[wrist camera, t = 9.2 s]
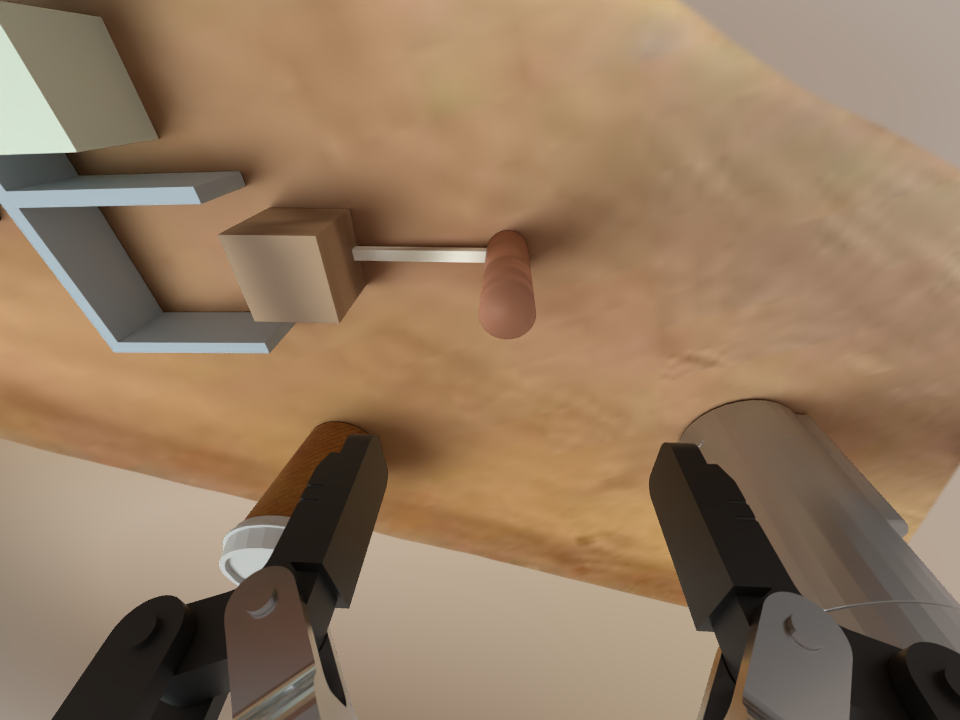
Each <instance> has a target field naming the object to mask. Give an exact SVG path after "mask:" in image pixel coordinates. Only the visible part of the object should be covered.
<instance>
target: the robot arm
mask: <svg viewBox="0 0 960 720" xmlns="http://www.w3.org/2000/svg"><path fill="white" fill-rule="evenodd" d="M387 479H388V469H387V465H386V461H385V458H384V454H383V451H382V447H381V444H380V440H379V437H378V436H377V435H371V434H350V435H349V436H348V437H347V439H346V441H345V443H344V445H343V447H342V449H341V452H340V453H338V452H330V453H329V454H328V455H327V456H326V457H325V458H324V459H323V460H322V461H321V462H320V463H319V464H318V465H317V466H316V468H315V470H314V472H313V474H312V476H311V478H310V480H309V482H308V484H307V488H305V490H304V491H303V493H302V495H301V497H300V502H298V503H297V505H296V507H295V509H294V511H293V513H292V515H291V517H290V519H289V521H288V523H287V525H286V527H285V529H284V531H283V533H282V535H281V537H280V539H279V541H278V543H277V545H276V546H275V548H274V550H273V552H272V554H271V556H270V558H269V560H268V561H267V563H266V564H265V565H264V567H263V568H262V569H260V570H258V571H256V572H255V573H253V574H251V575H250V576H249V577H247V578H246V579H245V580H244V581H243V582H242V583H241V584H240V585H239V586H238V587H237V588H236V589H235V590H232V591H229V592H226V593H223V594H220V595H216V596H213V597H210V598H206V599H203V600H199V601H196V602H193V603H189V604H184V603H183V602H182V601H181V600H180V599H178V598H177V597H174V596H170V595H165V596H159V597H156V598H153V599H150V600H148V601H146V602H144V603H142V604H141V605H140V606H138V607H136V608H135V609H133V610H132V611H131V612H130V613H128V614H127V615H126V616H125V617H124V618H123V619H122V620H121V621H120V622H119V623H118V624H117V626H115V628H114V629H113V630H112V632H111V633H110V635H109V636H108V637H107V639H106V640H105V642H104V643H103V645H102V646H101V648H100V649H99V651H98V652H97V654H96V655H95V657H94V658H93V660H92V661H91V663H90V664H89V665H88V667H87V668H86V670H85V671H84V673H83V674H82V676H81V677H80V679H79V680H78V682H77V683H76V684H75V686H74V687H73V689H72V690H71V692H70V693H69V695H68V696H67V698H66V699H65V701H64V702H63V704H62V705H61V707H60V708H59V710H58V711H57V712H56V714H55V715H54V717H53V718H52V720H217V719H218V716H219V714H220V712H221V710H222V707H223V705H224V702H225V700H226V698H227V695H228V693H229V692H230V693H231V705H232V718H233V720H358V719H357V717H356V715H355V713H354V710H353V707H352V704H351V701H350V698H349V694H348V691H347V687H346V684H345V680H344V677H343V674H342V670H341V666H340V663H339V659H338V656H337V652H336V649H335V645H334V642H333V638H332V635H331V631H330V628H329V623H330V621H331V617H332V614H333V611H334V609H335V608H349V607H350V604H351V600H352V597H353V594H354V591H355V587H356V584H357V581H358V578H359V574H360V571H361V567H362V565H363V561H364V558H365V555H366V552H367V548H368V545H369V542H370V539H371V535H372V532H373V529H374V526H375V522H376V519H377V516H378V513H379V509H380V506H381V503H382V500H383V496H384V493H385V490H386V486H387ZM649 490H650V496H651V500H652V502H653V505H654V508H655V511H656V514H657V517H658V520H659V523H660V526H661V529H662V531H663V534H664V537H665V540H666V543H667V546H668V549H669V552H670V555H671V558H672V560H673V563H674V566H675V569H676V572H677V575H678V578H679V581H680V584H681V587H682V589H683V592H684V595H685V598H686V601H687V604H688V607H689V609H690V612H691V616H692V618H693V621H694V624H695V627H696V630H697V631H709V632H715V635H716V638H717V640H718V643H719V648H718V650H717V652H716V656H715V659H714V662H713V666H712V669H711V673H710V676H709V680H708V683H707V686H706V690H705V694H704V697H703V700H702V704H701V707H700V711H699V714H698V717H697V720H960V604H959V603H958V602H957V601H956V600H955V599H954V597H953V596H952V595H951V594H950V593H949V592H948V591H947V589H946V588H945V587H944V586H943V585H942V584H941V583H940V581H939V580H938V579H937V578H936V577H935V576H934V574H933V573H932V572H931V571H930V570H929V569H928V568H927V566H926V565H925V564H924V563H923V562H922V561H921V559H919V557H918V556H917V555H916V554H915V553H914V551H913V550H912V549H911V548H910V547H909V546H908V544H907V543H906V542H905V541H904V540H903V539H902V537H904V536H905V535H906V534H907V533H908V525H907V523H906V522H905V521H904V519H903V518H902V517H901V516H900V515H899V514H898V513H897V512H896V511H895V510H894V509H893V507H892V506H891V505H890V504H889V503H888V502H887V501H886V500H885V499H884V498H883V496H882V495H881V494H880V493H879V492H878V491H877V490H876V489H875V488H874V487H873V485H872V484H871V483H870V482H869V481H868V480H867V479H866V478H865V477H864V476H863V474H862V473H861V472H860V471H859V470H858V469H857V468H856V467H855V466H854V465H853V463H852V462H851V461H850V460H849V459H848V458H847V457H846V456H845V455H844V454H843V452H842V451H841V450H840V449H839V448H838V447H837V446H836V445H835V444H834V443H833V441H832V440H831V439H830V438H829V437H828V436H827V435H826V434H825V433H824V432H823V430H822V429H821V428H820V427H819V426H818V425H817V424H816V423H815V422H814V421H813V419H812V418H811V417H810V416H809V415H801V414H795V413H794V412H792V411H791V410H790V409H789V408H787V407H786V406H784V405H781V404H779V403H776V402H771V401H766V400H749V401H741V402H736V403H732V404H728V405H724V406H722V407H719V408H716V409H714V410H712V411H710V412H708V413H706V414H704V415H703V416H701V417H700V418H698V419H697V420H696V421H694V422H693V423H692V424H691V425H690V426H689V427H688V428H687V429H686V430H685V431H684V433H683V435H682V436H681V438H680V441H679V443H663V444H662V446H661V448H660V451H659V453H658V456H657V459H656V461H655V464H654V467H653V469H652V472H651V475H650V479H649Z"/></svg>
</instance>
